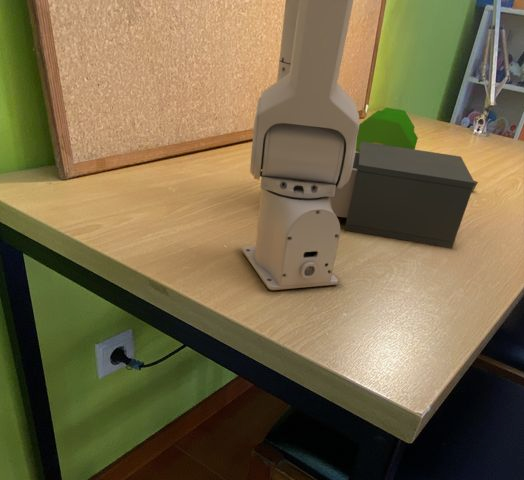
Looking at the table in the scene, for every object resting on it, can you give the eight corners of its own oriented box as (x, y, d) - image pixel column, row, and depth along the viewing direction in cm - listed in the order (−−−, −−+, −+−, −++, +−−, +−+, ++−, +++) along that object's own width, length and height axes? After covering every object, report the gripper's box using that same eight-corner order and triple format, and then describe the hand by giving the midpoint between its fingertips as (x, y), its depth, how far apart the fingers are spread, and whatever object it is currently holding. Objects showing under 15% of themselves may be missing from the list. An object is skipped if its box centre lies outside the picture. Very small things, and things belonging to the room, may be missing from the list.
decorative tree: (359, 110, 71) (390, 77, 93) (317, 178, 78) (355, 133, 101) (425, 156, 71) (440, 112, 94) (377, 220, 79) (402, 165, 101)
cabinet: (344, 230, 67) (358, 164, 62) (348, 200, 77) (360, 141, 72) (452, 248, 66) (475, 182, 61) (441, 215, 75) (461, 156, 70)
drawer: (259, 207, 68) (265, 155, 64) (272, 183, 77) (278, 136, 73) (389, 229, 66) (403, 177, 62) (387, 201, 75) (399, 154, 71)
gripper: (279, 52, 68) (268, 155, 76) (259, 65, 57) (249, 185, 65) (331, 59, 68) (314, 162, 76) (321, 74, 56) (303, 194, 64)
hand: (287, 174), depth 70 cm, fingers closed, pressing on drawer
